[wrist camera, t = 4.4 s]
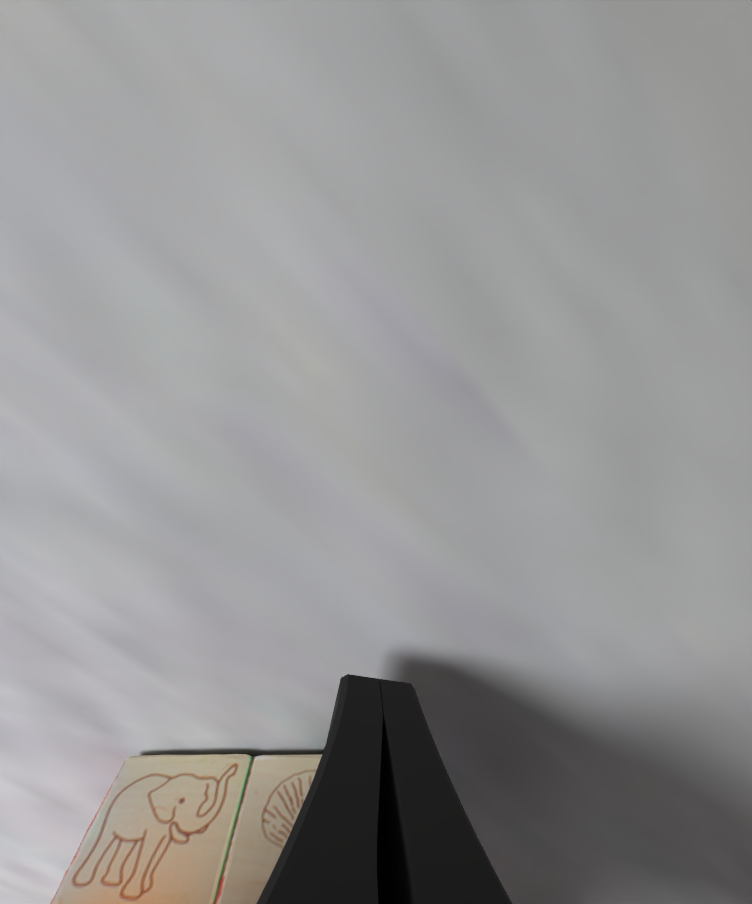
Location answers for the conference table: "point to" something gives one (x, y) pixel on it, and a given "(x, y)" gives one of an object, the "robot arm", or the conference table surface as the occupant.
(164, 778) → the stack of blocks
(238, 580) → the conference table surface
